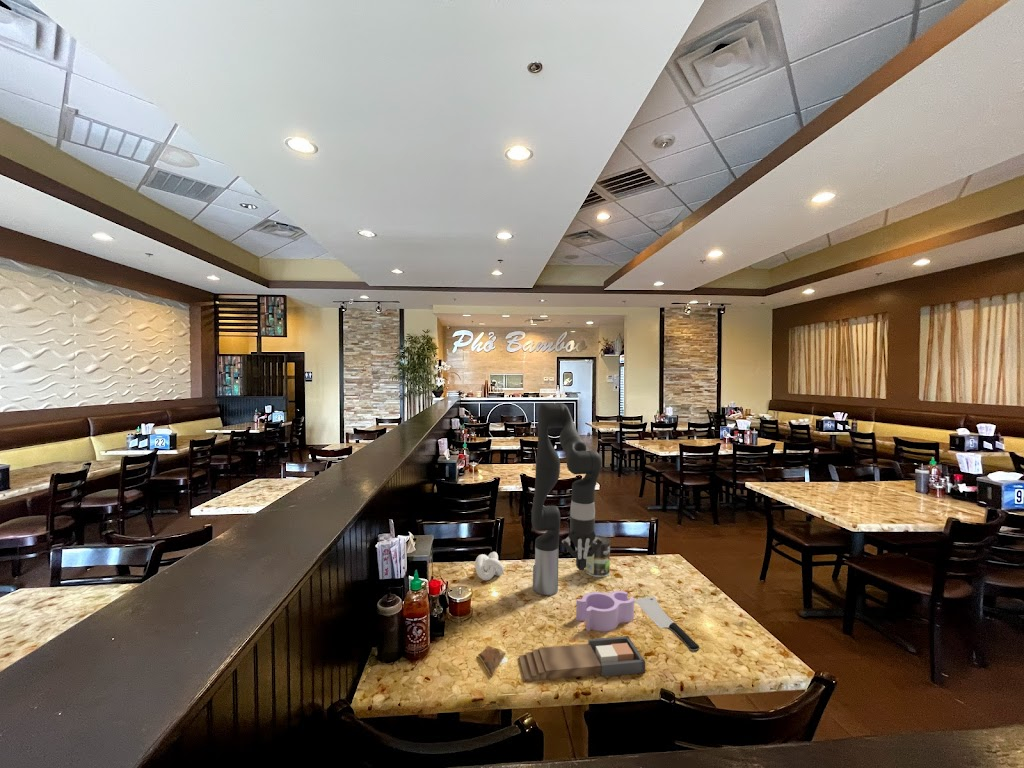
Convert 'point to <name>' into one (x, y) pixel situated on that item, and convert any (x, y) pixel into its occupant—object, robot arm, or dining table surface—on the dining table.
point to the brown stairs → (532, 666)
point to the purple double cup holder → (605, 610)
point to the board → (569, 661)
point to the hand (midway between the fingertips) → (581, 569)
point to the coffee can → (599, 559)
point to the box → (622, 666)
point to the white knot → (488, 566)
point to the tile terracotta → (623, 652)
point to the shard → (491, 658)
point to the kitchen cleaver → (664, 620)
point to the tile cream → (606, 654)
